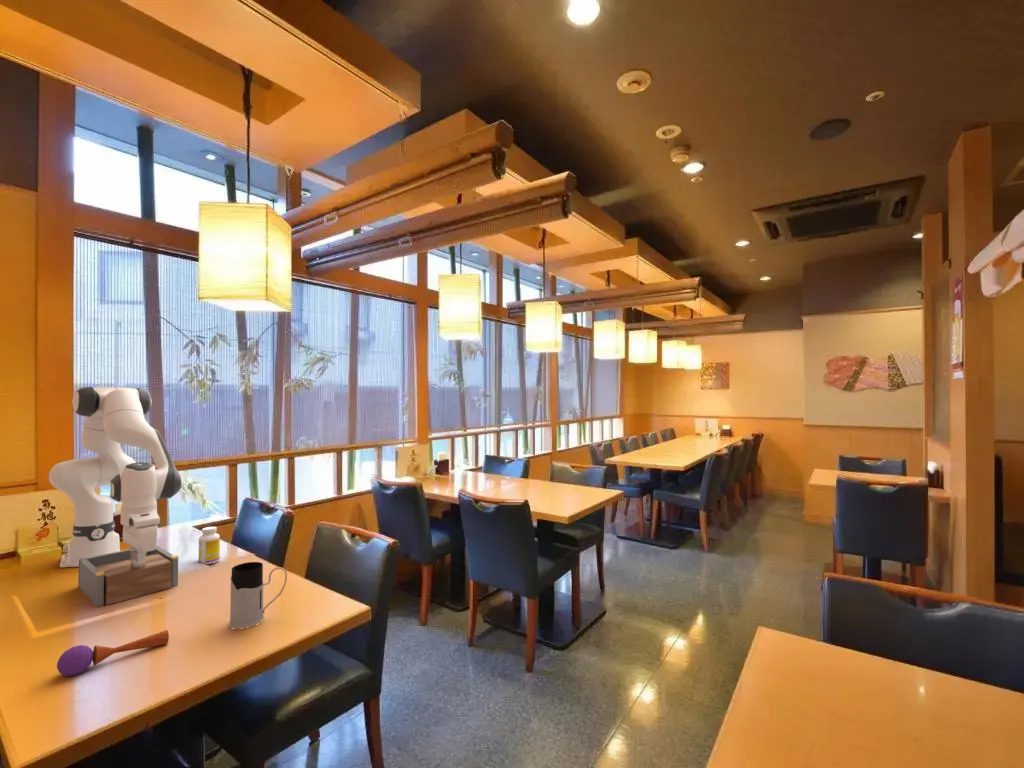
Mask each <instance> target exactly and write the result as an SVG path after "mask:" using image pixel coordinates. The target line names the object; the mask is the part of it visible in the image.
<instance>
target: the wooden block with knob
mask: <svg viewBox="0 0 1024 768" xmlns="http://www.w3.org/2000/svg"><path fill="white" fill-rule="evenodd" d="M137 555H138V553H137V550H133V551H131V559H130V560H125V561H120V562H116V563H111V564H106V565H102V566H97V567H96V568H97V569H98V570H99V571H100V572H101V571H103V572H104V603H105V604H106V605H105V606H109V605H111V604H115V603H120V602H122V601H123V602H124V601H126V600H130V599H135V598H138V597H142V596H146V595H150V594H153V593H156V592H161V591H163V590H168V589H171V588H173V587H172V562H171V561H169V560H168V559H166V558H164V557H163V556H161V555H159V554H158V553H157V554H153V555H148V556H145V562H144V563H141V564H138V563H137V562H136V561H137V560H136V559H137Z"/></svg>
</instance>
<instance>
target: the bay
mask: <svg viewBox="0 0 1024 768" xmlns="http://www.w3.org/2000/svg"><path fill="white" fill-rule="evenodd" d="M157 553H158V554H159V555H161V556H163V557H164V558H166V559H168V560H169V561H171V562H172V588H174V587H177V586H179V582H178V581H179V555H177V554H173V553H170V552H169V551H167V550H166V549H163V548H162V547H160V546H159V545H157V544H156V547H155V550H153V551H149V552H147V553H146V556H148V555H153V554H157ZM130 559H131V550H130V548H128V549H123V550H121V551H118V552H113V553H108V554H103V555H98V556H93V557H88V558H83V559H79V567H78V579H77V581H78V584H77V585H78V586H77V587H78V589H79V590H80V591H81V592H82V593H83V595H84V596H85V597H87V599H88V600H89V601H90V602H91V603H92V604H93V605H94V606H95V607H96V608H99V607H100V608H101V607H103V606H107V605H106V604H105V603H104V572H103V571H101V572H100V571H99V570H98V569H97V568H96V567H97V566H102V565H106V564H111V563H116V562H120V561H125V560H130Z"/></svg>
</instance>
